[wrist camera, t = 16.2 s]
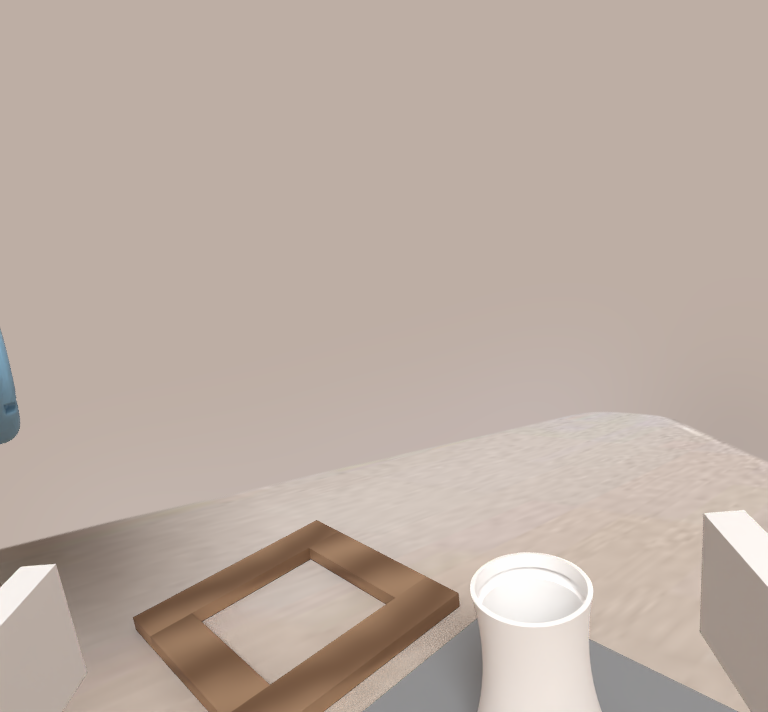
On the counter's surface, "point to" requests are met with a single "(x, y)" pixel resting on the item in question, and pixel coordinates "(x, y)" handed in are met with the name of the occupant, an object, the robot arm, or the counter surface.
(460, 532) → the counter surface
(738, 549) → the robot arm
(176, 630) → the holder frame
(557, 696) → the vase
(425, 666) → the slate board
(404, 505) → the counter surface
